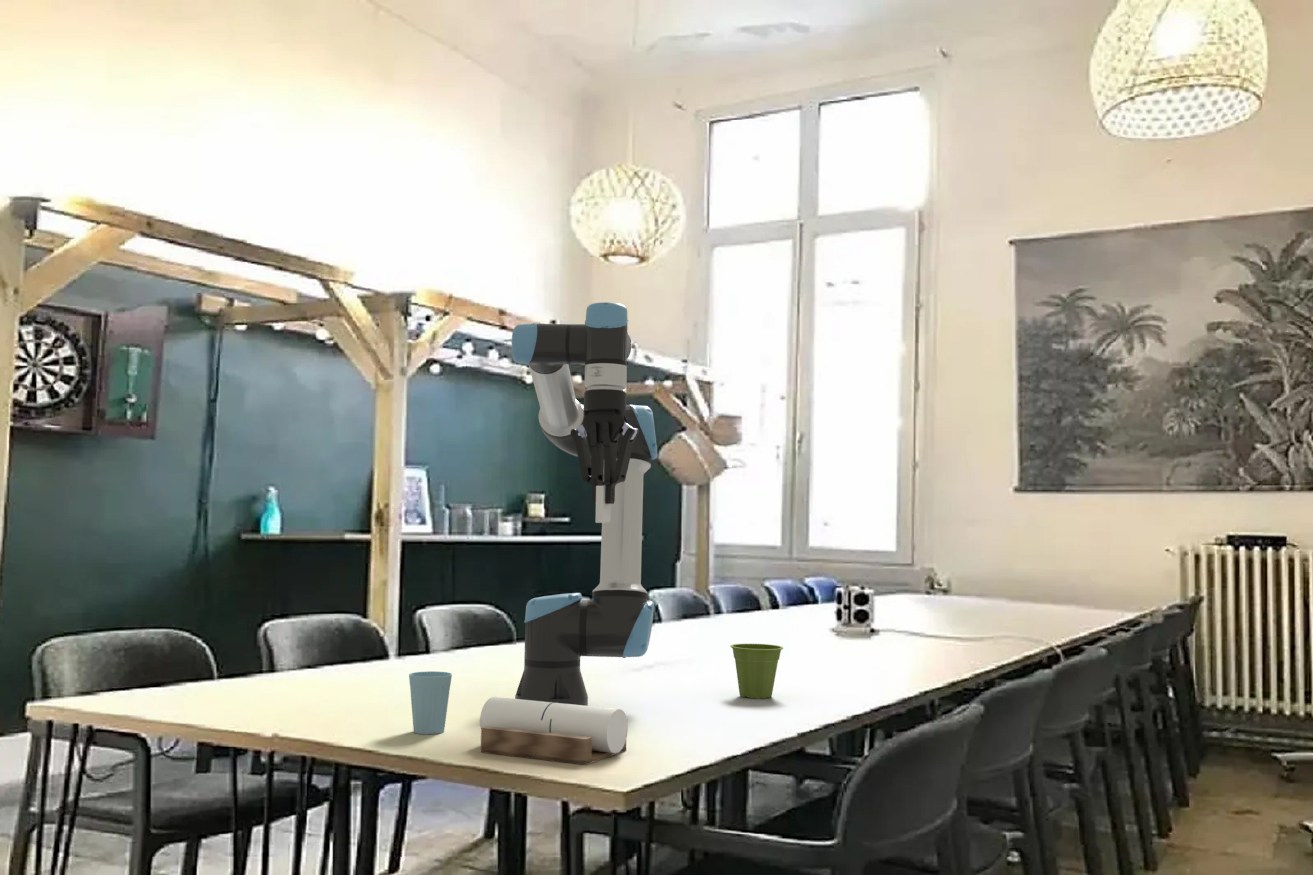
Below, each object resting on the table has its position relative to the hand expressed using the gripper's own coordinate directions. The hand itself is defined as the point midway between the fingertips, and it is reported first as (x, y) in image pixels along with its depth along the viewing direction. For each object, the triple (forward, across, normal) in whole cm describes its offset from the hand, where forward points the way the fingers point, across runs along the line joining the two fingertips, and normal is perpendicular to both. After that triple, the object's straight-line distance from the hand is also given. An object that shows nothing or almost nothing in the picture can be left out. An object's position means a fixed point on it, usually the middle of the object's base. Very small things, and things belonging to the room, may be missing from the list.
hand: (602, 522), depth 209 cm
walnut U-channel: (+38, -3, -10) cm, 40 cm away
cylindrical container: (+34, +8, -9) cm, 36 cm away
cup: (+39, -32, -6) cm, 51 cm away
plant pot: (+39, +3, +67) cm, 77 cm away
